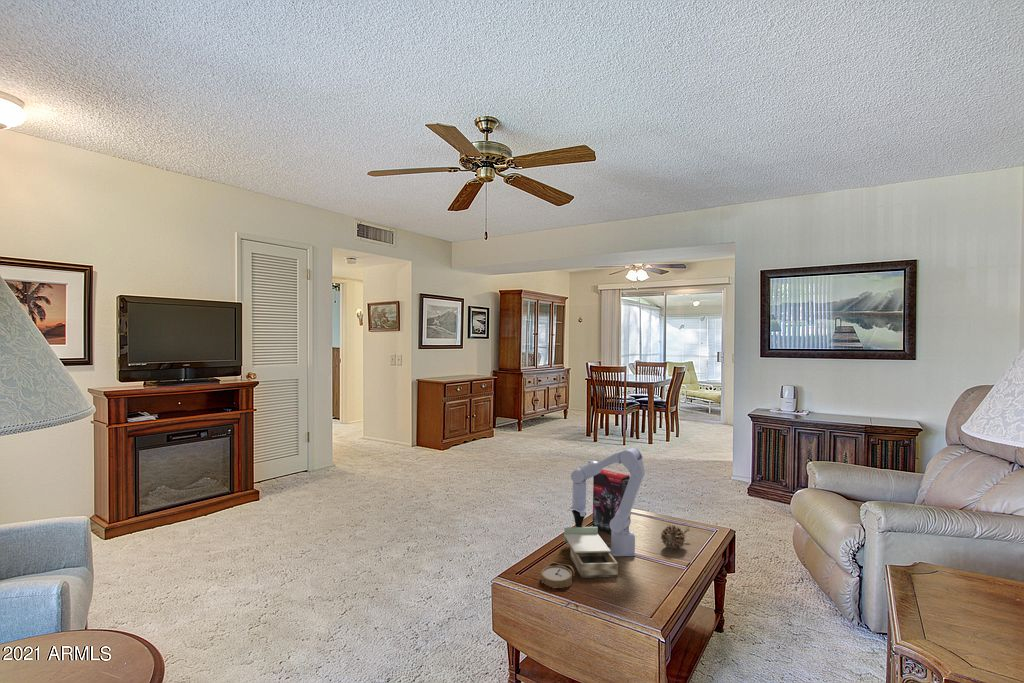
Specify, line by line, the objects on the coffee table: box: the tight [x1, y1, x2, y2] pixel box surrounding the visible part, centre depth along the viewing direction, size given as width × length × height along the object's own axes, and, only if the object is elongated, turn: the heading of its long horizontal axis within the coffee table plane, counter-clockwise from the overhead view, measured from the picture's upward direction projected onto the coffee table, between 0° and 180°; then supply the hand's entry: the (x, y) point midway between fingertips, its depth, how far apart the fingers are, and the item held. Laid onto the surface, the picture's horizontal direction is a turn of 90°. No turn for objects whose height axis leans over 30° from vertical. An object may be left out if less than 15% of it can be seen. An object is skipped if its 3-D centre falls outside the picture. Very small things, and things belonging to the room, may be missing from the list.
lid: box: [563, 526, 611, 553], centre depth 209 cm, size 14×20×6 cm
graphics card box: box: [591, 468, 631, 534], centre depth 239 cm, size 17×7×27 cm, turn 43°
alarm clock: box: [540, 562, 575, 589], centre depth 187 cm, size 11×5×15 cm
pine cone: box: [660, 524, 691, 550], centre depth 223 cm, size 22×10×10 cm, turn 140°
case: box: [569, 546, 619, 579], centre depth 199 cm, size 14×18×5 cm
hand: (578, 527), depth 223 cm, fingers closed
